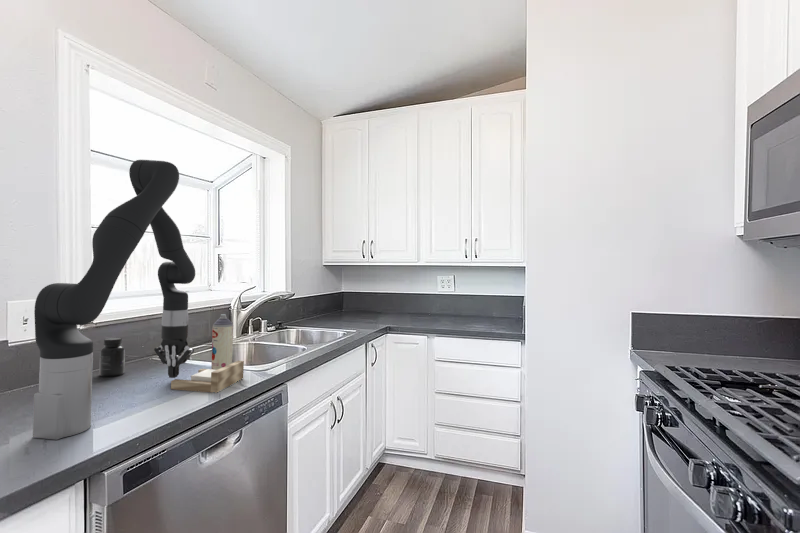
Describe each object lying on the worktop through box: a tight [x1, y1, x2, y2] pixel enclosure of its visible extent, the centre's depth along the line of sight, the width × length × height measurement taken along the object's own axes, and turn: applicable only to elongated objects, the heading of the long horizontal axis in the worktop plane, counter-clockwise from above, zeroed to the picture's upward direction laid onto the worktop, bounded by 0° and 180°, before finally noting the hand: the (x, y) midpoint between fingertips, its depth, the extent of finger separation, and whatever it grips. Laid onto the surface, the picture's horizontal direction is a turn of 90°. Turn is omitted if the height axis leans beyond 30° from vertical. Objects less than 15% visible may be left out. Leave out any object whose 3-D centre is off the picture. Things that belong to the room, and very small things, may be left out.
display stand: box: [170, 360, 245, 394], centre depth 128 cm, size 15×15×6 cm
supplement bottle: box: [98, 337, 126, 378], centre depth 135 cm, size 7×7×12 cm
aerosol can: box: [211, 313, 234, 370], centre depth 145 cm, size 7×7×20 cm
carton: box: [190, 368, 216, 382], centre depth 127 cm, size 8×7×4 cm
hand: (173, 377), depth 130 cm, fingers closed
